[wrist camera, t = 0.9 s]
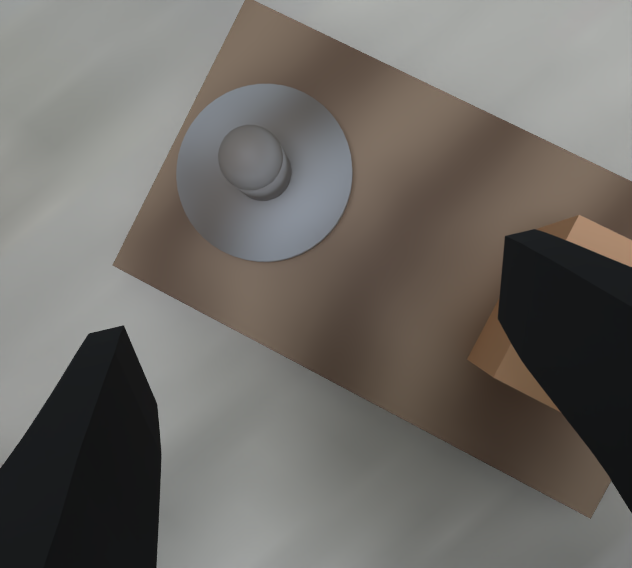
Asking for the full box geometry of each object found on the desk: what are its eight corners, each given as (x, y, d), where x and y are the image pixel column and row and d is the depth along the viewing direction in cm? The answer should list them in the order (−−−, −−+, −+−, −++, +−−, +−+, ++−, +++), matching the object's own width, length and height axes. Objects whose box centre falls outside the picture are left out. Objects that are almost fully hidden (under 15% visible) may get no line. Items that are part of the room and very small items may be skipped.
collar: (672, 296, 21) (753, 299, 17) (601, 428, 21) (663, 465, 17) (535, 229, 22) (579, 214, 17) (466, 359, 22) (493, 377, 17)
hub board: (722, 237, 22) (841, 221, 17) (578, 506, 23) (648, 576, 17) (252, 11, 24) (219, -71, 18) (124, 266, 24) (55, 260, 19)
